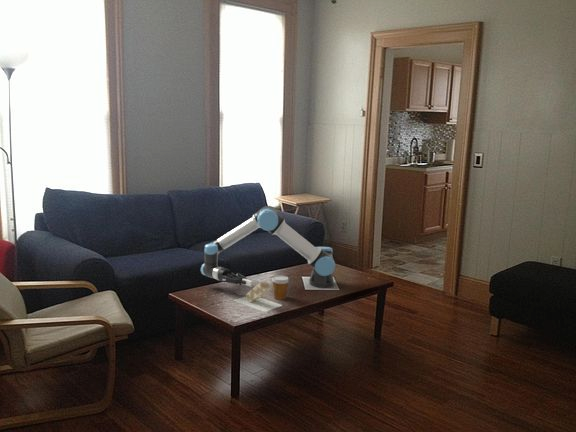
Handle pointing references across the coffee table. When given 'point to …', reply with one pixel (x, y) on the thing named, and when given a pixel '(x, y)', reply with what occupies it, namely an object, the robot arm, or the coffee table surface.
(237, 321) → the coffee table surface
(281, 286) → the disposable coffee cup
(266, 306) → the mat
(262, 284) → the block
